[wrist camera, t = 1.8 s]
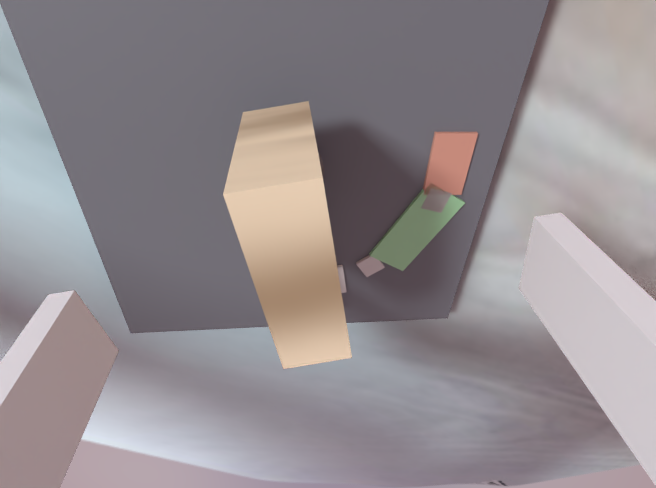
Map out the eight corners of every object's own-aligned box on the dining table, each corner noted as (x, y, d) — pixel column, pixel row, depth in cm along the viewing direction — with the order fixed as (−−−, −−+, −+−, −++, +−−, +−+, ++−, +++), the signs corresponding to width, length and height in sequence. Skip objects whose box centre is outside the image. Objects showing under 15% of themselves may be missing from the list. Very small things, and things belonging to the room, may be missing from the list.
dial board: (138, 314, 25) (129, 335, 24) (-46, -190, 12) (-89, -209, 10) (440, 301, 27) (448, 320, 25) (570, -143, 14) (602, -154, 12)
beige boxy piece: (242, 95, 16) (214, 195, 9) (310, 83, 16) (330, 176, 9) (298, 307, 23) (305, 445, 17) (344, 299, 23) (369, 434, 17)
